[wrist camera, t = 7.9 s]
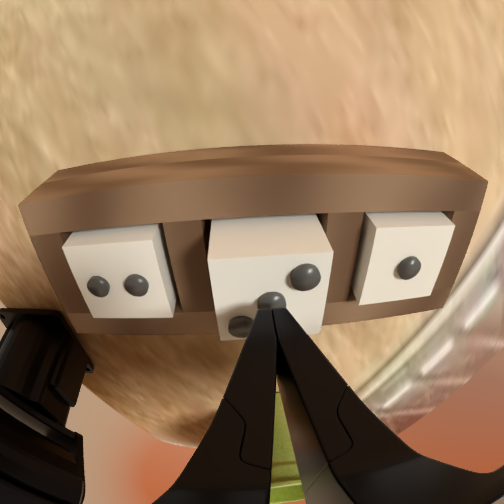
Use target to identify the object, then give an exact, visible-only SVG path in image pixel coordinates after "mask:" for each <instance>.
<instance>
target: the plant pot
mask: <svg viewBox="0 0 504 504" xmlns="http://www.w3.org/2000/svg"><path fill="white" fill-rule="evenodd" d="M299 500H305V497H304V492H303V488H302V484H301V480H300V476H299V471H298V467H297V463H296V459H295V455H294V450H293V446H292V442H291V438H290V433H289V429H288V425H287V421H286V417H285V412H284V408H283V404H282V400H281V395H280V393H276V397H275V420H274V440H273V458H272V475H271V491H270V504H278V503H286V502H294V501H299Z"/></svg>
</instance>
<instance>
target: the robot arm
mask: <svg viewBox="0 0 504 504" xmlns="http://www.w3.org/2000/svg"><path fill="white" fill-rule="evenodd" d="M0 319H1V321H2V322H3V323H4V325H5V327H6V328H7V329H6V331H5V333H4V335H3V337H2V339H1V341H0V504H82V503H83V501H84V497H85V476H84V458H83V436H82V435H81V434H79V433H77V432H73V431H71V430H69V429H67V428H66V427H65V425H66V421H67V417H68V414H69V410H70V407H74V406H75V405H76V402H77V398H78V395H79V391H80V388H81V384H82V381H83V378H84V374H85V373H92V372H93V370H94V365H93V364H92V362H91V361H90V359H89V358H88V356H87V355H86V353H85V352H84V350H83V348H82V347H81V345H80V344H79V342H78V341H77V339H76V337H75V336H74V334H73V332H72V331H71V329H70V327H69V326H68V324H67V322H66V320H65V319H64V317H63V315H62V314H61V313H60V312H58V311H55V310H29V309H8V308H1V309H0ZM276 377H277V382H278V387H279V391H280V395H281V400H282V404H283V408H284V412H285V417H286V421H287V425H288V429H289V433H290V438H291V442H292V446H293V450H294V455H295V459H296V463H297V467H298V471H299V476H300V480H301V484H302V488H303V492H304V497H305V500H306V504H504V465H503V466H501V467H500V468H498V469H496V470H495V471H493V472H490V473H477V472H472V471H468V470H465V469H462V468H458V467H455V466H452V465H449V464H446V463H442V462H440V461H437V460H434V459H431V458H428V457H425V456H423V455H421V454H419V453H417V452H416V451H414V450H413V449H411V448H410V447H409V446H408V445H406V444H405V443H404V442H403V441H402V440H401V439H400V438H399V437H398V436H397V435H396V434H395V433H394V432H392V431H391V430H390V429H389V428H388V427H387V426H386V425H385V424H384V423H383V422H382V421H381V420H380V419H379V418H378V417H377V416H376V415H375V414H374V413H372V412H371V411H370V410H369V409H368V407H367V406H366V405H365V404H364V403H363V402H362V401H361V400H360V398H359V397H358V396H357V395H356V394H355V392H354V391H353V390H352V389H351V387H350V386H347V385H348V384H347V383H346V381H345V380H344V379H343V378H342V377H341V375H340V374H339V373H338V372H337V370H336V369H335V368H334V367H333V365H332V364H331V363H330V362H329V360H328V359H327V358H326V357H325V355H324V354H323V353H322V352H321V351H320V349H319V348H318V347H317V346H316V344H315V343H314V342H313V341H312V339H311V338H310V337H309V336H308V334H307V333H306V332H305V331H304V329H303V328H302V327H301V326H300V324H299V323H298V322H297V321H296V319H295V318H294V317H293V316H292V314H291V313H290V312H289V311H288V309H287V308H285V307H278V308H273V309H270V308H264V309H258V310H257V312H256V315H255V318H254V320H253V323H252V325H251V328H250V331H249V333H248V336H247V338H246V341H245V343H244V346H243V348H242V351H241V354H240V356H239V359H238V361H237V364H236V366H235V369H234V371H233V374H232V376H231V379H230V381H229V384H228V386H227V389H226V391H225V394H224V396H223V399H222V401H221V403H220V405H219V408H218V410H217V412H216V415H215V417H214V419H213V421H212V423H211V425H210V427H209V429H208V431H207V432H206V434H205V436H204V438H203V440H202V441H201V443H200V445H199V446H198V448H197V449H196V451H195V453H194V454H193V456H192V458H191V459H190V461H189V462H188V464H187V465H186V467H185V469H184V470H183V472H182V473H181V475H180V476H179V477H178V479H177V480H176V481H175V483H174V484H173V485H172V486H171V487H170V488H169V489H168V490H167V491H166V492H165V493H164V494H163V495H162V496H160V497H159V498H158V499H157V500H156V501H154V502H153V503H152V504H270V491H271V475H272V458H273V440H274V420H275V397H276Z"/></svg>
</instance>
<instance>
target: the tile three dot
mask: <svg viewBox="0 0 504 504" xmlns="http://www.w3.org/2000/svg"><path fill="white" fill-rule="evenodd" d="M333 253H334V252H333V250H332V247H331V245H330V243H329V241H328V239H327V237H326V235H325V232H324V230H323V228H322V226H321V224H320V222H319V220H318V218H317V216H316V214H292V215H271V216H252V217H235V218H219V219H212V222H211V231H210V240H209V250H208V259H207V260H208V267H209V273H210V280H211V287H212V293H213V299H214V305H215V312H216V318H217V324H218V330H219V335H220V341H227V340H246V338H247V336H248V333H249V331H250V328H251V325H252V323H253V320H254V318H255V315H256V312H257V310H258V309H264V308H270V309H273V308H278V307H285V308H287V309H288V311H289V312H290V313H291V314H292V316H293V317H294V318H295V319H296V321H297V322H298V323H299V324H300V326H301V327H302V328H303V329H304V331H305V332H306V333H307V334H318V333H320V331H321V326H322V320H323V315H324V309H325V304H326V298H327V292H328V286H329V279H330V273H331V266H332V260H333Z"/></svg>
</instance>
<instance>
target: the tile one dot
mask: <svg viewBox="0 0 504 504" xmlns="http://www.w3.org/2000/svg"><path fill="white" fill-rule="evenodd" d="M454 228H455V225H454V224H453V223H452V222H451V221H450V220H449V219H448V218H447V217H446V216H445V215H444V214H443V213H442V212H441V211H386V212H364V215H363V221H362V227H361V233H360V238H359V244H358V249H357V255H356V260H355V265H354V270H353V275H352V280H351V284H350V286H351V288H352V291H353V293H354V295H355V298H356V300H357V302H358V305H366V304H374V303H382V302H389V301H397V300H404V299H411V298H418V297H424V296H430V295H431V292H432V290H433V287H434V285H435V282H436V280H437V277H438V275H439V272H440V269H441V267H442V264H443V261H444V258H445V255H446V253H447V250H448V247H449V244H450V241H451V238H452V235H453V231H454Z"/></svg>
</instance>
